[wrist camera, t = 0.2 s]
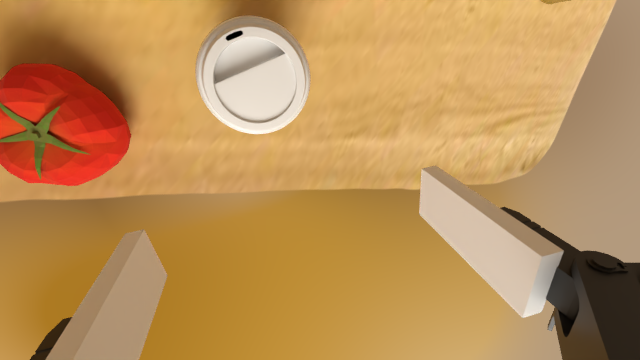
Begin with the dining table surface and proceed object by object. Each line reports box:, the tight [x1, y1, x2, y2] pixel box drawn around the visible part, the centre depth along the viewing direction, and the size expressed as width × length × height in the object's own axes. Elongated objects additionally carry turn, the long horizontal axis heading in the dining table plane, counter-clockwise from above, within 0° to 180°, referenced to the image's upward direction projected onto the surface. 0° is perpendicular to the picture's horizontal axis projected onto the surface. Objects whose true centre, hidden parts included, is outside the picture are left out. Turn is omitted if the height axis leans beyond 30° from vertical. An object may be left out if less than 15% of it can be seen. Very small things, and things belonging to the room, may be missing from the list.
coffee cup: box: [196, 15, 310, 134], centre depth 29 cm, size 10×10×15 cm
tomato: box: [0, 64, 131, 186], centre depth 30 cm, size 13×12×8 cm
